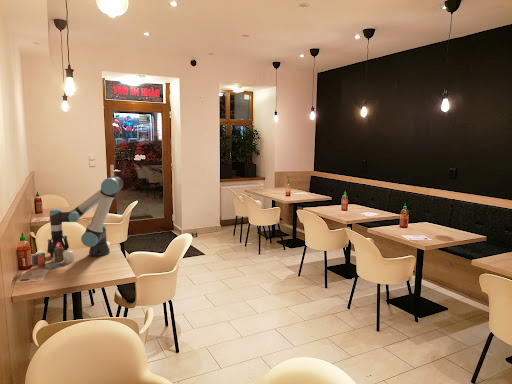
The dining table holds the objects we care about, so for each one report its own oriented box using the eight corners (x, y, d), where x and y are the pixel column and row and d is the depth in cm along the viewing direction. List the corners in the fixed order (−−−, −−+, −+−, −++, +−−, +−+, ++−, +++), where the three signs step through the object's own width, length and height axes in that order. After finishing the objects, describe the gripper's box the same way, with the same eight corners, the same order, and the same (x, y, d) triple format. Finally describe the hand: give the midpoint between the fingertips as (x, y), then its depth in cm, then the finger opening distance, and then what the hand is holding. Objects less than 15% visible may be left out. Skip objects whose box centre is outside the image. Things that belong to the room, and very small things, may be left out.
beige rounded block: (70, 259, 287) (69, 249, 285) (76, 261, 283) (75, 250, 282) (61, 262, 281) (60, 251, 279) (67, 263, 277) (66, 253, 276)
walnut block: (60, 258, 290) (59, 247, 288) (65, 259, 287) (64, 248, 286) (53, 260, 285) (52, 248, 284) (58, 261, 282) (57, 249, 281)
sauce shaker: (42, 264, 276) (41, 253, 275) (46, 265, 274) (45, 253, 273) (37, 266, 273) (36, 254, 272) (40, 267, 271) (39, 255, 270)
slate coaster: (56, 262, 280) (56, 261, 280) (65, 264, 275) (65, 264, 275) (41, 266, 271) (41, 266, 271) (51, 269, 265) (50, 268, 265)
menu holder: (43, 261, 283) (42, 252, 282) (45, 262, 281) (44, 253, 280) (32, 264, 276) (31, 255, 275) (34, 265, 275) (33, 256, 274)
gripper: (66, 226, 294) (69, 255, 297) (39, 232, 276) (42, 263, 279) (72, 227, 290) (75, 256, 293) (45, 233, 272) (48, 264, 275)
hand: (59, 259), depth 286 cm, fingers open, 8 cm apart
